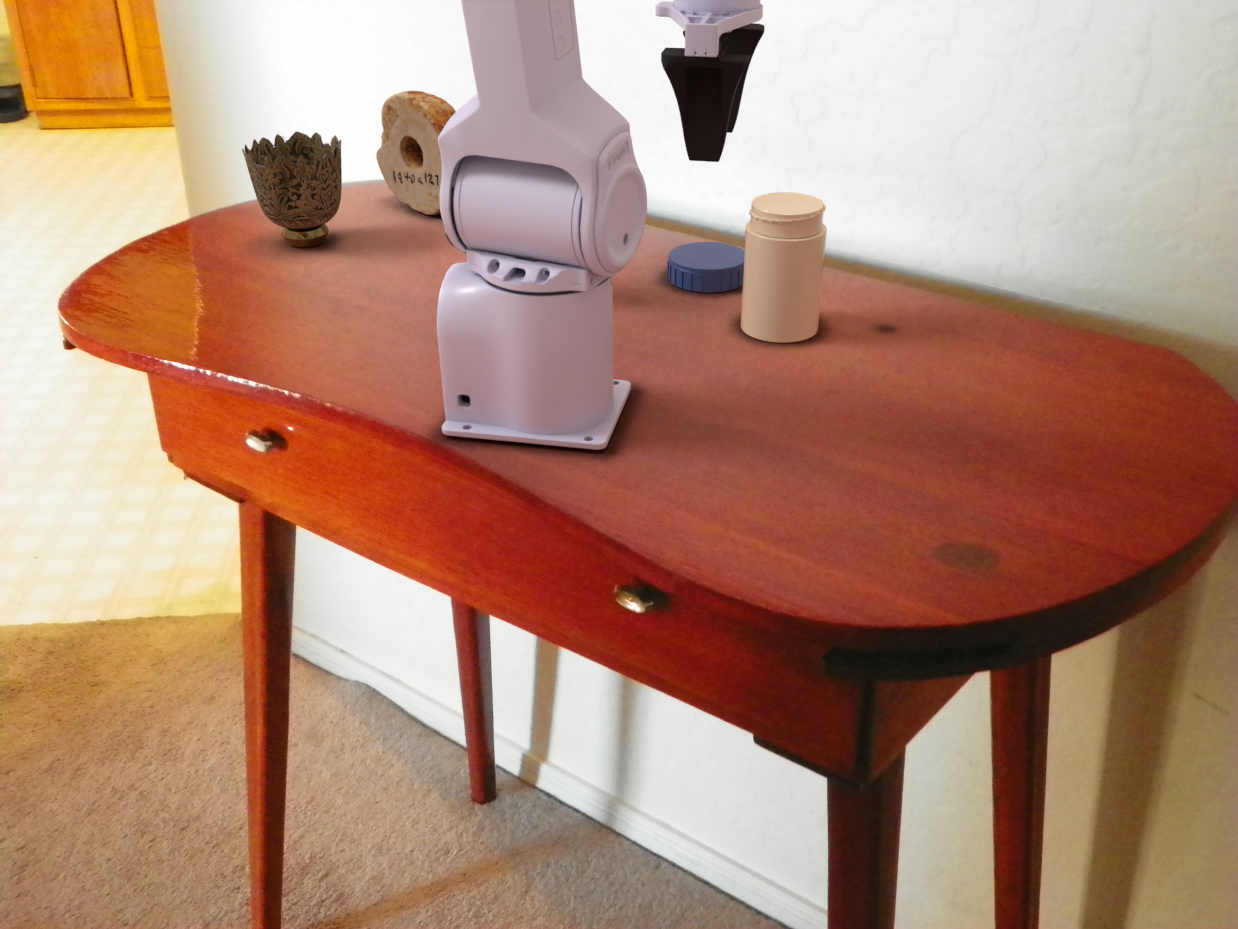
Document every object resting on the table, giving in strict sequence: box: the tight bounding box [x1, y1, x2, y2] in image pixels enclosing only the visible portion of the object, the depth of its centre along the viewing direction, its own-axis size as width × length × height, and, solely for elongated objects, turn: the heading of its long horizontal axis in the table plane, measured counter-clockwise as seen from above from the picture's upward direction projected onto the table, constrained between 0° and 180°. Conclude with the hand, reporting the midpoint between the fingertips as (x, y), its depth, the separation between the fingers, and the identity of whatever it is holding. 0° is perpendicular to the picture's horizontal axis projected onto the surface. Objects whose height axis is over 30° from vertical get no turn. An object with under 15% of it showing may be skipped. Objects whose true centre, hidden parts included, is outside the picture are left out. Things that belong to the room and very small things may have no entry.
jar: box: [740, 191, 828, 344], centre depth 75 cm, size 5×5×9 cm
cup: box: [241, 131, 343, 248], centre depth 90 cm, size 8×7×8 cm
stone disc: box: [375, 90, 457, 216], centre depth 97 cm, size 10×4×10 cm, turn 45°
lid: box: [666, 241, 744, 294], centre depth 84 cm, size 6×6×2 cm
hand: (711, 144), depth 80 cm, fingers open, 7 cm apart
